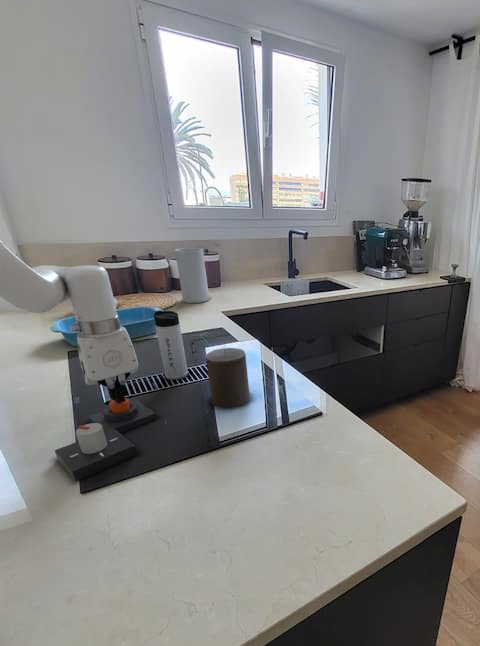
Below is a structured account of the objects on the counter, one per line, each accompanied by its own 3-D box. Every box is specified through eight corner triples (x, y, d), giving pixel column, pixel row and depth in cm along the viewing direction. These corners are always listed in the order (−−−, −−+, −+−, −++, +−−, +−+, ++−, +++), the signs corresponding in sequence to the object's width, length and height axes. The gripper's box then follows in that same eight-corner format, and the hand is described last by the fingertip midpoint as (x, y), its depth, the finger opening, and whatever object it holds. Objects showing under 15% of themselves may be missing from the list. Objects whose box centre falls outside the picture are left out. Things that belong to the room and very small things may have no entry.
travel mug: (177, 371, 121) (166, 308, 113) (193, 375, 119) (182, 311, 111) (160, 378, 116) (147, 313, 108) (175, 383, 113) (163, 316, 105)
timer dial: (112, 442, 81) (106, 422, 79) (95, 455, 77) (89, 434, 75) (93, 440, 82) (87, 420, 80) (76, 452, 78) (69, 432, 76)
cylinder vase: (213, 300, 200) (207, 250, 190) (189, 304, 191) (181, 252, 181) (202, 296, 208) (195, 247, 197) (178, 300, 199) (170, 249, 189)
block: (107, 440, 87) (103, 425, 85) (90, 424, 93) (85, 409, 91) (157, 420, 95) (154, 406, 93) (138, 407, 101) (135, 393, 99)
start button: (115, 415, 90) (113, 407, 89) (107, 409, 92) (105, 402, 91) (133, 409, 93) (131, 401, 92) (126, 403, 95) (124, 396, 94)
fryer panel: (76, 484, 74) (71, 470, 73) (58, 462, 80) (54, 449, 78) (136, 457, 82) (133, 444, 81) (116, 439, 87) (113, 427, 86)
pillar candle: (231, 414, 98) (224, 359, 92) (204, 404, 103) (195, 351, 97) (258, 398, 106) (253, 347, 100) (232, 390, 111) (226, 340, 104)
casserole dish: (62, 355, 130) (55, 335, 127) (50, 338, 145) (44, 319, 142) (175, 332, 153) (172, 315, 151) (155, 319, 168) (152, 303, 165)
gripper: (65, 338, 76) (89, 418, 84) (143, 321, 87) (159, 394, 95) (52, 329, 81) (76, 407, 88) (128, 314, 91) (144, 385, 99)
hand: (119, 400), depth 91 cm, fingers closed
